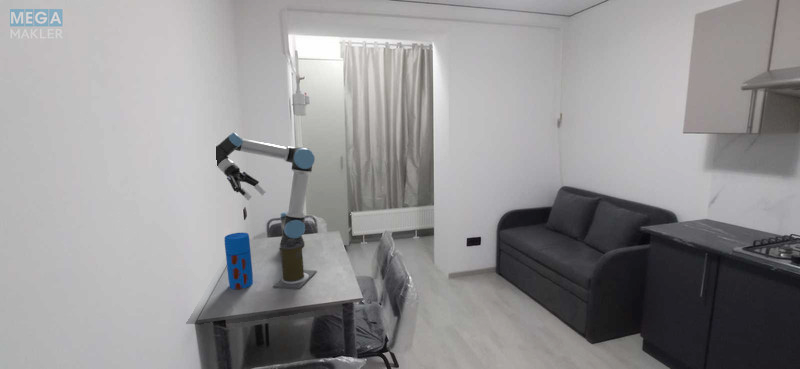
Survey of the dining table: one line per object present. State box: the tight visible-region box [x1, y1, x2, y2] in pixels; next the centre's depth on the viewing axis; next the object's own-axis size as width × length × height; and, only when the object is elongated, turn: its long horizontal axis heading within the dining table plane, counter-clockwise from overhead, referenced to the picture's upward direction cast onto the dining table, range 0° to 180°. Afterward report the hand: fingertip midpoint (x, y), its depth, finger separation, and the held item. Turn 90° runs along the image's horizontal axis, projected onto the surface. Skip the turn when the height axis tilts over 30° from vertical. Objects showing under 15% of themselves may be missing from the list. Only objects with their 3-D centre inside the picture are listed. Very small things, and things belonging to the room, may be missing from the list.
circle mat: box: [272, 269, 317, 290], centre depth 178 cm, size 20×14×1 cm
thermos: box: [224, 232, 254, 290], centre depth 171 cm, size 11×11×25 cm
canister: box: [279, 239, 304, 282], centre depth 176 cm, size 11×10×20 cm
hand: (257, 196), depth 190 cm, fingers open, 13 cm apart
